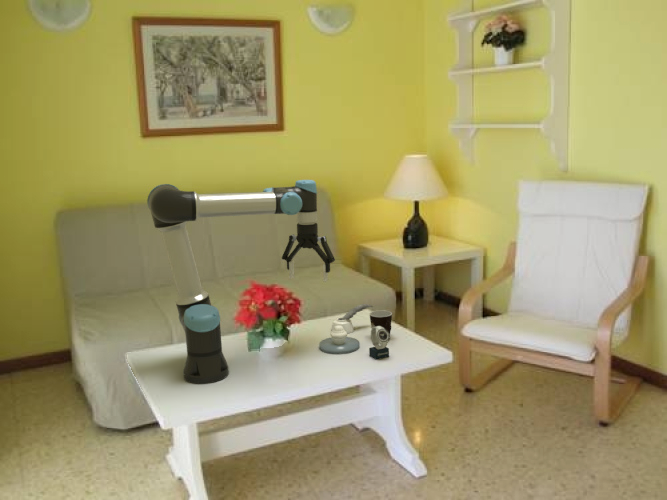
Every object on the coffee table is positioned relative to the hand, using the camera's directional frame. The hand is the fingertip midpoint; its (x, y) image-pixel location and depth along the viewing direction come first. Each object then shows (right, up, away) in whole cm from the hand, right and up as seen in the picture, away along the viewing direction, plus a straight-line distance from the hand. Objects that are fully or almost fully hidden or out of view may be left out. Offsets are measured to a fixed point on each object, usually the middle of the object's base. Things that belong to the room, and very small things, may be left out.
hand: (308, 279), depth 257 cm
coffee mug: (+27, -24, +9) cm, 37 cm away
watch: (+26, -27, -8) cm, 38 cm away
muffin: (+11, -24, +2) cm, 26 cm away
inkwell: (+17, -21, +23) cm, 35 cm away
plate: (+11, -25, +3) cm, 28 cm away
